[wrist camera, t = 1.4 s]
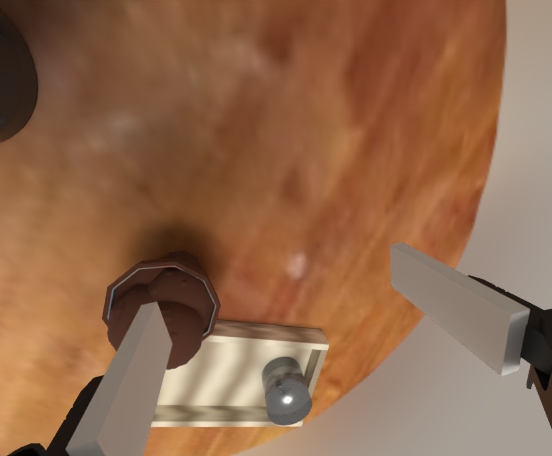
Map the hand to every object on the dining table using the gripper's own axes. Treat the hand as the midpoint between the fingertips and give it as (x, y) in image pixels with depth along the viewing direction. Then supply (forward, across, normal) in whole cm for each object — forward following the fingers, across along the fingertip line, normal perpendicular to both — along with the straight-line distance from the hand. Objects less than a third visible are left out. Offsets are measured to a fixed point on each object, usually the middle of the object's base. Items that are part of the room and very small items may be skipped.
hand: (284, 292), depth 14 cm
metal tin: (+20, 0, -27) cm, 34 cm away
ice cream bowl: (+21, -11, -6) cm, 25 cm away
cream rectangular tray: (+21, -7, -24) cm, 33 cm away
